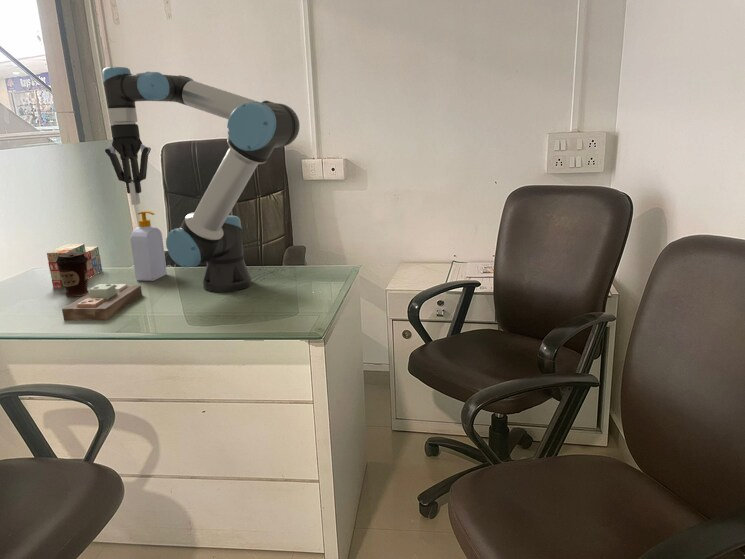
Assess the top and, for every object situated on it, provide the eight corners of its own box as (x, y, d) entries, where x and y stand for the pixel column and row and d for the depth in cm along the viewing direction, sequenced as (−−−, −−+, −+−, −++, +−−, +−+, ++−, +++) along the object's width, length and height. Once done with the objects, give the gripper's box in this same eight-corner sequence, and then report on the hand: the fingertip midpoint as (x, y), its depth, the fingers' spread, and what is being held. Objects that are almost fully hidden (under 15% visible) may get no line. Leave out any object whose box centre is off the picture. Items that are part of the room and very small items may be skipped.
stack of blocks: (85, 271, 202) (80, 238, 198) (102, 271, 202) (97, 238, 198) (52, 289, 181) (46, 252, 178) (72, 288, 181) (65, 251, 178)
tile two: (116, 294, 164) (114, 283, 163) (108, 299, 159) (106, 288, 158) (99, 294, 164) (98, 283, 163) (90, 299, 159) (89, 288, 158)
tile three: (105, 308, 157) (104, 297, 157) (96, 314, 153) (94, 303, 152) (88, 308, 158) (86, 297, 157) (78, 314, 153) (76, 303, 152)
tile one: (128, 293, 171) (126, 283, 170) (120, 298, 166) (119, 288, 165) (112, 293, 171) (110, 283, 170) (104, 298, 166) (102, 288, 165)
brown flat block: (142, 295, 172) (140, 285, 172) (107, 319, 151) (105, 308, 150) (104, 295, 173) (102, 285, 172) (63, 319, 152) (61, 308, 151)
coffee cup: (79, 299, 169) (72, 258, 166) (55, 298, 171) (48, 257, 167) (98, 291, 177) (92, 251, 174) (75, 289, 179) (68, 250, 176)
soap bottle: (154, 281, 187) (145, 213, 181) (135, 280, 188) (126, 213, 182) (169, 274, 195) (161, 209, 189) (151, 273, 197) (142, 209, 190)
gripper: (151, 122, 167) (161, 201, 173) (107, 124, 167) (120, 203, 173) (141, 122, 160) (153, 205, 166) (95, 124, 160) (109, 206, 166)
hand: (136, 203), depth 170 cm, fingers closed
